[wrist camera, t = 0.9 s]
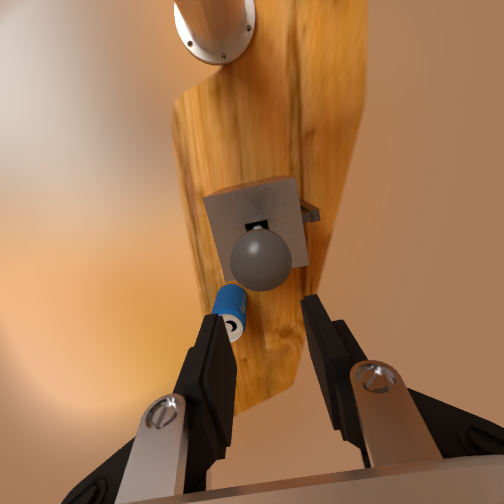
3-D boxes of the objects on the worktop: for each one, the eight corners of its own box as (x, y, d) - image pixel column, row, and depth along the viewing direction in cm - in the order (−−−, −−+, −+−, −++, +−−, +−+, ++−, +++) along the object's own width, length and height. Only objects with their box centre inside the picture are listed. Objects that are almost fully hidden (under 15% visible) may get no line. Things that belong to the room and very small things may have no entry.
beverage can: (252, 301, 55) (252, 335, 43) (226, 313, 55) (219, 350, 44) (237, 277, 53) (233, 306, 41) (211, 290, 54) (200, 322, 42)
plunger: (221, 197, 38) (191, 220, 19) (280, 184, 37) (308, 195, 18) (235, 253, 40) (220, 321, 22) (290, 241, 40) (323, 301, 21)
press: (222, 188, 47) (202, 197, 29) (293, 172, 46) (319, 171, 28) (235, 243, 51) (225, 281, 32) (302, 229, 50) (331, 260, 31)
